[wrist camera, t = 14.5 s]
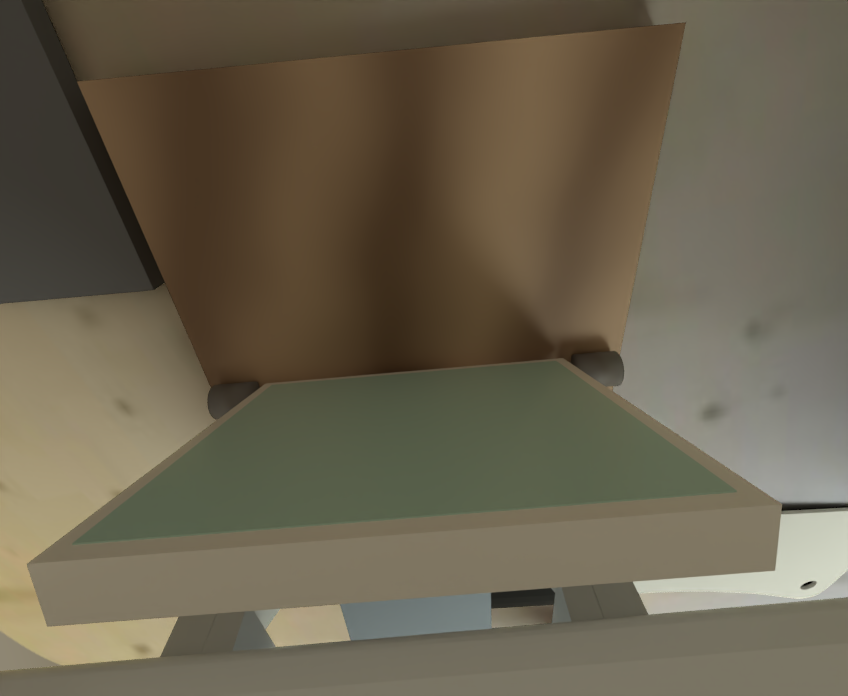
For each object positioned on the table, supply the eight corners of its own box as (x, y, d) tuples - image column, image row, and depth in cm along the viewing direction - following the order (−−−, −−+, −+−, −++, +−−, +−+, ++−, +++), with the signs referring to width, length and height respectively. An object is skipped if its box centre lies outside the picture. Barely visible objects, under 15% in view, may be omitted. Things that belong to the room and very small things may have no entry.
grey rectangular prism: (457, 387, 17) (490, 558, 10) (465, 519, 21) (493, 715, 14) (364, 395, 17) (330, 572, 10) (388, 525, 21) (375, 724, 14)
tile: (563, 386, 16) (562, 357, 16) (775, 570, 6) (782, 502, 6) (270, 411, 16) (265, 382, 16) (47, 626, 7) (26, 562, 6)
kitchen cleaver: (926, 519, 24) (830, 608, 29) (895, 495, 25) (809, 584, 30) (400, 537, 21) (396, 631, 26) (399, 509, 23) (396, 604, 28)
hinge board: (656, 31, 12) (716, 13, 10) (589, 425, 20) (613, 468, 18) (110, 84, 13) (40, 78, 10) (259, 453, 21) (239, 498, 18)
